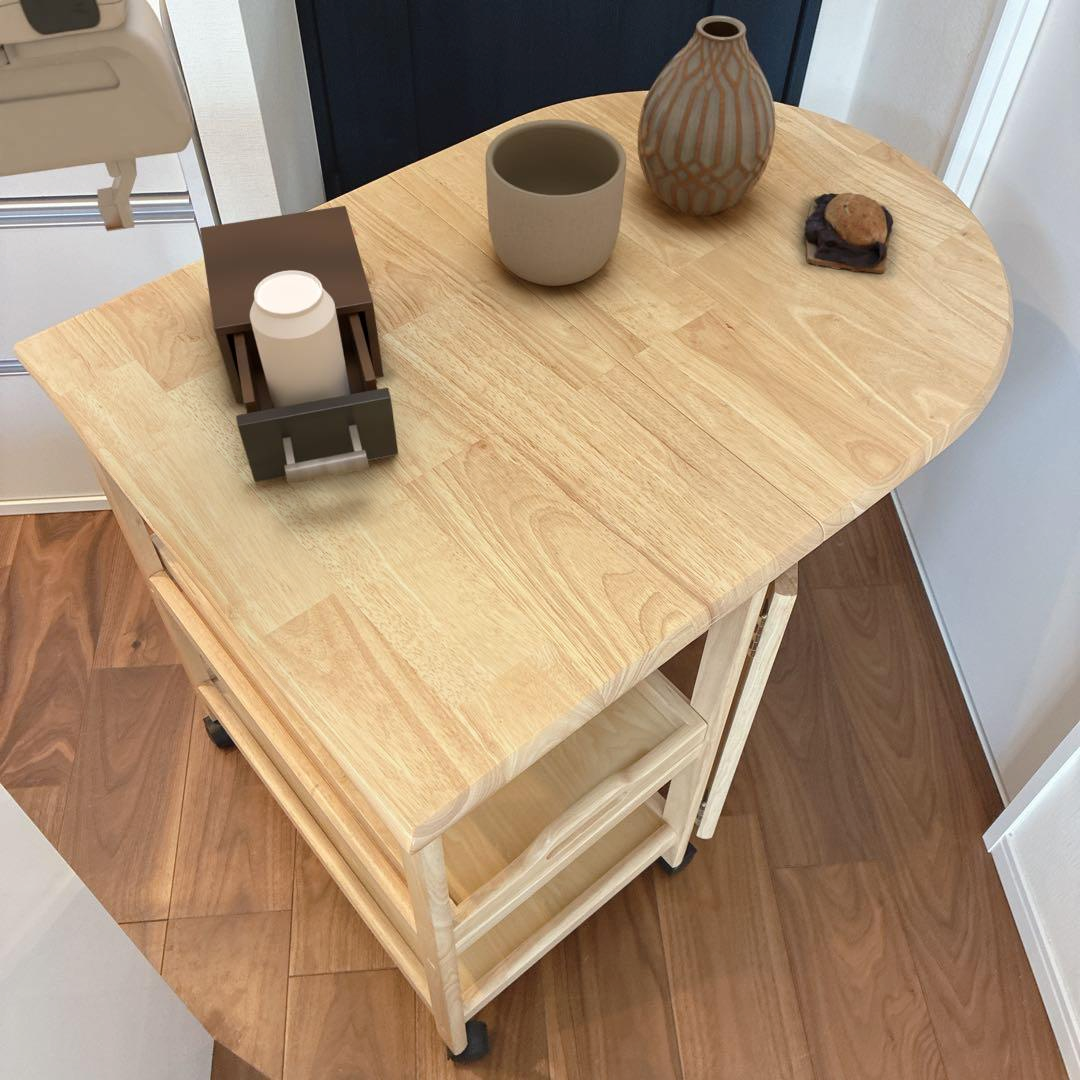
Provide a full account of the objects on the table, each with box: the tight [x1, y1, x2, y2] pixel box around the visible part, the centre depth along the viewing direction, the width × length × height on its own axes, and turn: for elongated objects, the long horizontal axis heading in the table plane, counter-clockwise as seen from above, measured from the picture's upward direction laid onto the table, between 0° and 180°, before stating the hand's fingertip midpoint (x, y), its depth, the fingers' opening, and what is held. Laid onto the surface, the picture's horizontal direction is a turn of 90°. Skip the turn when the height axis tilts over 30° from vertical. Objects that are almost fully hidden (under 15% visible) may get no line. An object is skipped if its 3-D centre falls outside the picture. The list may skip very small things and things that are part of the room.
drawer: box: [233, 312, 399, 485], centre depth 83 cm, size 17×11×6 cm
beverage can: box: [250, 270, 350, 408], centre depth 81 cm, size 6×6×12 cm
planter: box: [484, 118, 627, 287], centre depth 97 cm, size 12×12×11 cm
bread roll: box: [804, 192, 894, 274], centre depth 103 cm, size 11×8×4 cm
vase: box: [636, 15, 776, 217], centre depth 101 cm, size 13×13×18 cm
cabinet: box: [199, 205, 384, 403], centre depth 91 cm, size 14×13×8 cm
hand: (33, 237), depth 59 cm, fingers open, 8 cm apart
